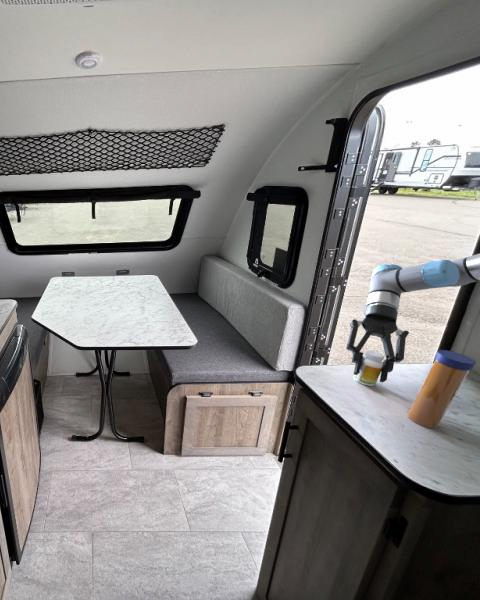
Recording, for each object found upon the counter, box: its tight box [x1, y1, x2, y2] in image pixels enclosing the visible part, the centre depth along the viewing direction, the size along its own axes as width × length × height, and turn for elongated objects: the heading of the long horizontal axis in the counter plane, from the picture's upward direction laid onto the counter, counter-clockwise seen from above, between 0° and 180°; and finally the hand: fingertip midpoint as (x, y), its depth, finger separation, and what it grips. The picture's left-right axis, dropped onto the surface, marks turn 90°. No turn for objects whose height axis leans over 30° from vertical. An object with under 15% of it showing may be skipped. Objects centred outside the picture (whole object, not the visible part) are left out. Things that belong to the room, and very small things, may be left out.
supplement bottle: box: [352, 350, 385, 387], centre depth 97 cm, size 5×5×10 cm
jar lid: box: [434, 349, 477, 371], centre depth 77 cm, size 6×6×2 cm
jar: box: [406, 359, 470, 429], centre depth 80 cm, size 6×6×18 cm
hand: (369, 376), depth 95 cm, fingers closed on supplement bottle, 5 cm apart
